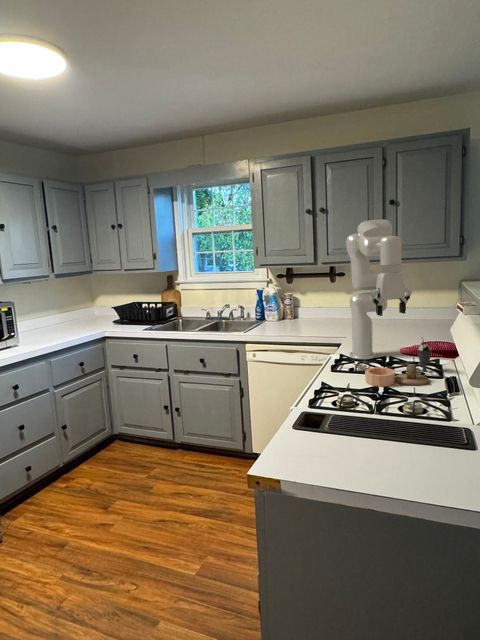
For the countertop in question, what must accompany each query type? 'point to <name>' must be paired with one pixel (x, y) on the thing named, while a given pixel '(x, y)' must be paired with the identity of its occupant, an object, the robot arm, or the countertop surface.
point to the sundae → (424, 355)
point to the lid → (411, 377)
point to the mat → (421, 385)
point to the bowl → (380, 376)
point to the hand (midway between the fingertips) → (391, 314)
